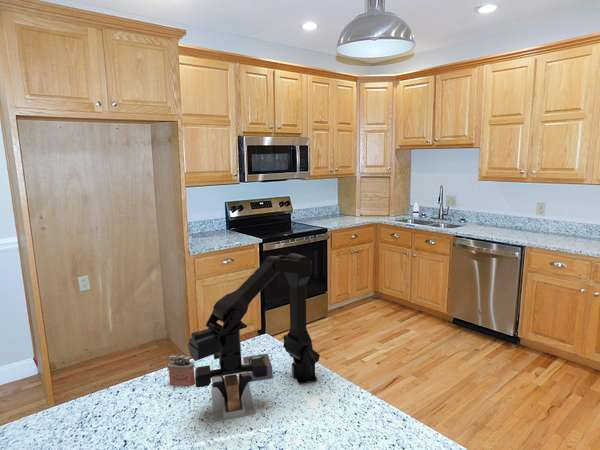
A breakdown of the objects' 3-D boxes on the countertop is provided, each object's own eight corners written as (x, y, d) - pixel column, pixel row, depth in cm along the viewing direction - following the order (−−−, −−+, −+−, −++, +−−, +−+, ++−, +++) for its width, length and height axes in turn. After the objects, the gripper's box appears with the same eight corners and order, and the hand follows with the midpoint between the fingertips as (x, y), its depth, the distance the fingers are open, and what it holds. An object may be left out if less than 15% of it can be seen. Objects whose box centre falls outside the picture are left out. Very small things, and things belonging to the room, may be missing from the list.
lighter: (197, 383, 121) (195, 353, 120) (193, 390, 118) (190, 359, 116) (172, 382, 122) (169, 352, 121) (167, 389, 119) (164, 358, 117)
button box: (268, 367, 130) (267, 353, 129) (272, 380, 122) (271, 365, 121) (243, 371, 128) (243, 357, 127) (246, 384, 120) (245, 369, 119)
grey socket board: (247, 381, 122) (247, 373, 122) (255, 417, 105) (255, 409, 104) (211, 387, 119) (210, 379, 119) (213, 425, 102) (213, 416, 102)
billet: (238, 399, 110) (236, 374, 108) (239, 410, 105) (238, 384, 104) (227, 401, 109) (225, 376, 108) (228, 412, 104) (226, 386, 103)
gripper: (260, 329, 114) (262, 378, 117) (193, 338, 109) (197, 389, 112) (266, 347, 103) (269, 400, 106) (193, 357, 99) (197, 413, 102)
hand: (233, 400), depth 107 cm, fingers closed on billet, 3 cm apart
